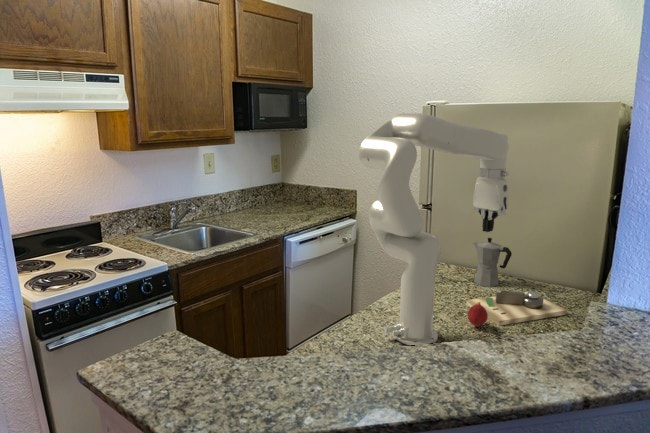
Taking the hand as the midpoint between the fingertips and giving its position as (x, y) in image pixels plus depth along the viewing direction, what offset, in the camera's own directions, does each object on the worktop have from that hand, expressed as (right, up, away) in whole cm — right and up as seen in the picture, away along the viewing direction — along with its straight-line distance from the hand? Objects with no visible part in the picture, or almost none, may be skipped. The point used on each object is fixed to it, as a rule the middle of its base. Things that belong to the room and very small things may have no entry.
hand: (487, 230), depth 148 cm
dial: (+13, -24, +7) cm, 28 cm away
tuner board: (+11, -26, +6) cm, 29 cm away
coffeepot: (+11, -21, +30) cm, 38 cm away
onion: (-6, -29, -6) cm, 30 cm away
